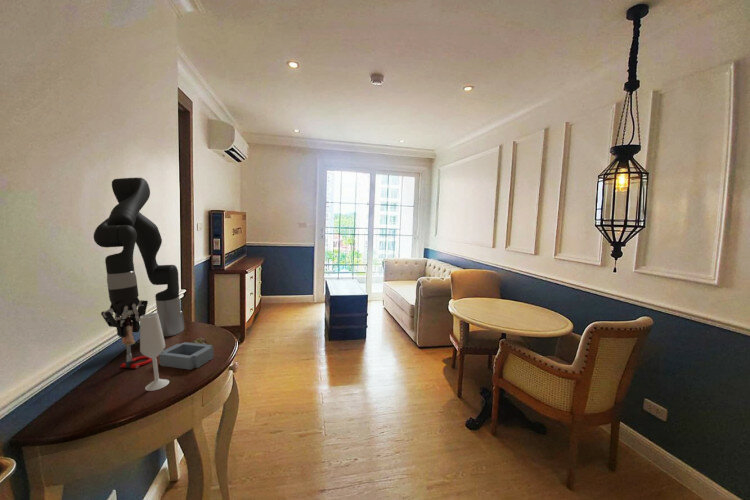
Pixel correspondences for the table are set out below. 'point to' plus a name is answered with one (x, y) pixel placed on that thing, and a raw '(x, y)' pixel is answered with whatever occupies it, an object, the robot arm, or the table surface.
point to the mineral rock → (199, 341)
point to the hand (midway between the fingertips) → (129, 334)
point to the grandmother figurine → (128, 330)
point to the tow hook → (130, 361)
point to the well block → (186, 355)
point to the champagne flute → (152, 346)
